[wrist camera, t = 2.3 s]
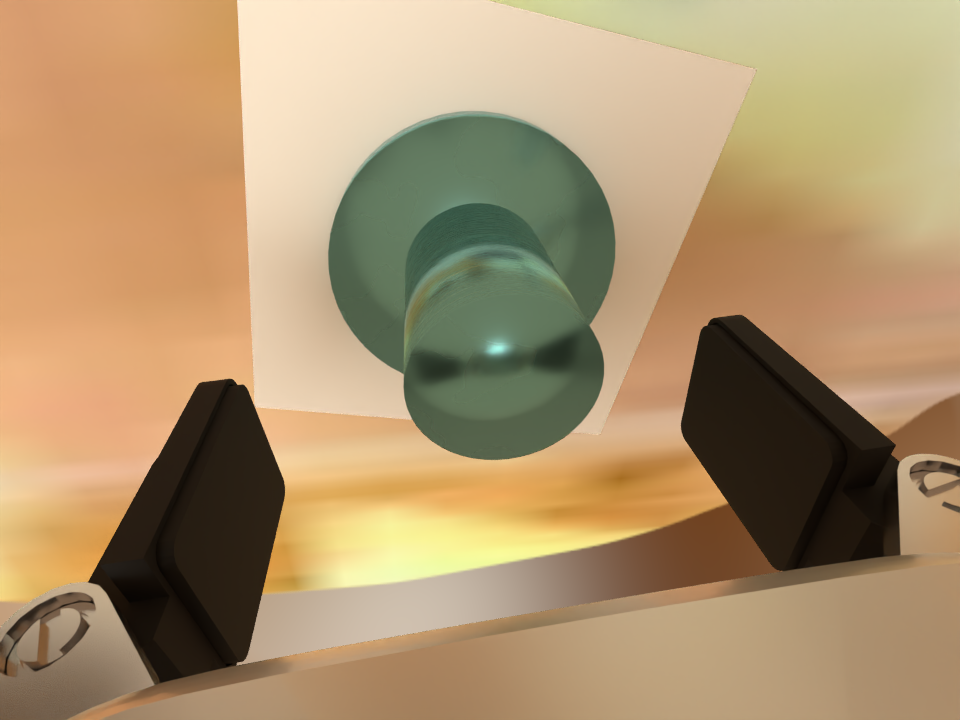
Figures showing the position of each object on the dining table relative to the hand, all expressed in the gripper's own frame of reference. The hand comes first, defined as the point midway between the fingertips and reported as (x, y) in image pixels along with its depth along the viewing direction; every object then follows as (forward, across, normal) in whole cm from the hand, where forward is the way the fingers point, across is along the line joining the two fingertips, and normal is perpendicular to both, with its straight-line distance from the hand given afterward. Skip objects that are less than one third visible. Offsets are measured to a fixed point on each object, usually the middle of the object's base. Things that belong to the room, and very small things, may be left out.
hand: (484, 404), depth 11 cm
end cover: (+12, -1, 0) cm, 12 cm away
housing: (+12, -1, 0) cm, 13 cm away
